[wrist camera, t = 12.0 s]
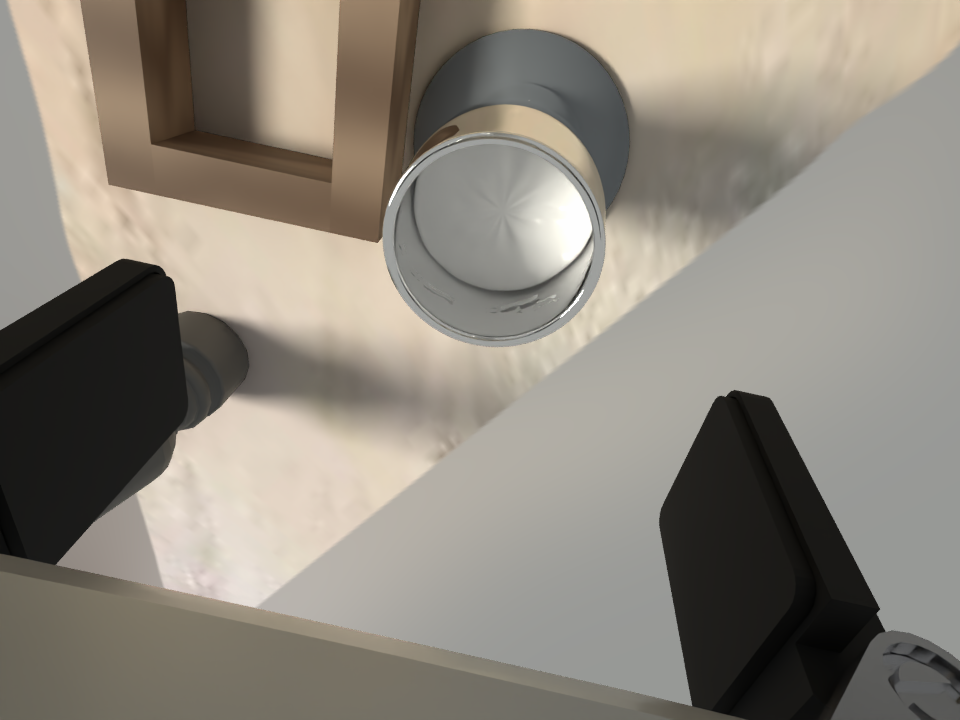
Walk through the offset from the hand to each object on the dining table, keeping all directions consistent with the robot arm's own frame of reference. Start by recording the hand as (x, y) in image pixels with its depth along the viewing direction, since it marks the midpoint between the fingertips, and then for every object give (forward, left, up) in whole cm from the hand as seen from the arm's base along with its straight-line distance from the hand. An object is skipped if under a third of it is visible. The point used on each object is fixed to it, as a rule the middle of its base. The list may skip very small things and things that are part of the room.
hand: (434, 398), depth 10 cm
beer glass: (0, 0, -23) cm, 23 cm away
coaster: (0, 0, -23) cm, 23 cm away
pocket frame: (-2, -13, -23) cm, 27 cm away
